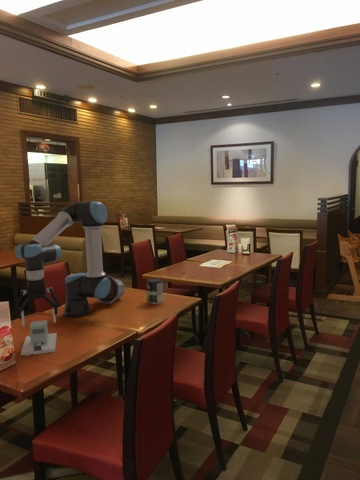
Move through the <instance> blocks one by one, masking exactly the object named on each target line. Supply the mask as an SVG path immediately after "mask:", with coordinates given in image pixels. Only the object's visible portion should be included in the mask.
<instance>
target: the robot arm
mask: <svg viewBox="0 0 360 480" xmlns="http://www.w3.org/2000/svg"><path fill="white" fill-rule="evenodd" d="M107 219H108V210H107V207H106V206H105V205H104V203H102V202H100V201H75V202H73V203H70V204H69V205H67V206H65V207H64V208H62V209H61V210H60V211H59V212H58V213H57V215H56V217H55V218H54V219H53V220H52V221H50V222H49V223H48V224H47V225H46V226H45V227H43V229H41V230H40V231H39V232H38V233H37V234H35V236H33V237H32V238H31V239H30V240H29V241H28V242H26V243H22V244H18V245H17V246H16V247H15V249H14V250H15V251H14V254H15V257H16V258H17V259H19V260H22V261H24V263H25V265H24V266H25V275H26V286H27V289H21V290H20V291H19V298H18V299H17V302H16V304H15V306H14V309H13V311H14V312H17V313H18V319H19V320H21V326H22V327H24V326H25V325H26V324H25V323H26V321H25V313H24V310H23V309H25V308H26V306H27V305H28V303H29V301H31V300H37V299H38V300H41V299H43V300H45V302H47V303H48V304H49V305H50V306H52V316H53V318H52V319H53V324H56V323H57V322H56V319H57V318H56V316H57V315H58V314H59V313H58V308H61V307H62V303H61V301H60V299H59V298H58V297H57V296H56V293H55V292H54V290H53V289H54V288H53V287H52V286H49V287H46V284H45V282H46V281H45V278H44V277H45V271H44V264H46V263H50V262H55V261H57V260H58V259H59V260H60V258H61V257H62V255H63V254H62V253H63V251H62V248H61V247H60V246H59V245H58V244H51V243H52V242H53V241H54V240H55V239H56V238H57V237H58V236H59V235H61V233H62V232H64V230H65V229H67V228H69V227H72V225H74V224H77V223H80V224H81V227H82V228H83V229H84V233H85V236H84V237H85V253H86V268H87V271H86V273H85V272H77V273H73V274H69V275H67V276H65V279H64V281H65V283H64V284H65V286H64V287H65V305H64V309H63V315H64V316H65V317H69V318H79V317H83V316H84V317H85V316H88V315H89V314H91V312H92V311H91V306H90V303H89V301H88V298H93V299H97V298H104V297H106V296H107V295H108V293H109V291H110V287H111V282H110V280H109V279H108V278H106V276H107V273H106V272H105V271H104V264H103V245H102V228H103V227H104V224H105V223H106V222H107ZM46 293H49V294H50V296H51V297H52V299H53V300H52V299H51V298H50V297H49V296H47V294H46ZM26 294H27V295H28V297H26V299H25V301H24V302H23V303H22V305H20V304H21V301H22V299H23V296H25V295H26ZM19 306H20V307H19Z"/></svg>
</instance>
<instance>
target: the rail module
mask: <svg viewBox="0 0 360 480" xmlns="http://www.w3.org/2000/svg"><path fill="white" fill-rule="evenodd" d="M48 334H49V329H48V320H47V319H46V320H35V321H31V322H30V325H29V336H30V338H31V346H35V343H39V342H43V343H44V344H47V343H48Z"/></svg>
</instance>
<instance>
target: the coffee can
mask: <svg viewBox="0 0 360 480" xmlns="http://www.w3.org/2000/svg"><path fill="white" fill-rule="evenodd" d="M163 283H164V280H163V278H158V277H156V278H155V277H153V278H152V277H151V278H148V279H146V302H147V303H148V304H150V303H151V304H153V305H157V304H158V305H159V304H162V303H163V302H164V292H163V291H164V290H163V289H164V285H163ZM151 304H150V305H151Z"/></svg>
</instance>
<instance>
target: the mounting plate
mask: <svg viewBox="0 0 360 480" xmlns="http://www.w3.org/2000/svg"><path fill="white" fill-rule="evenodd" d="M57 334H58V333H57V332H54V333H52V332H51V333H48V343H47V344H44V343H43V342H39V343H35V346H31V338H30V335H26V337H25V339H24V343H23V345H22V347H21V351H20V356H21V355H25V356H31V354H33V355H41V354H47V353H56V345H57V338H58V337H57V336H58V335H57Z"/></svg>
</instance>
